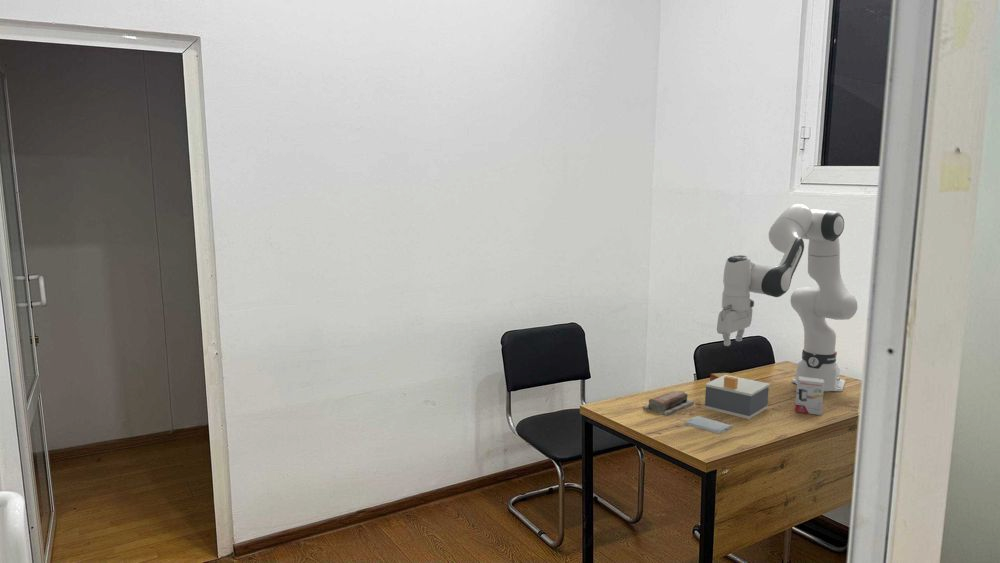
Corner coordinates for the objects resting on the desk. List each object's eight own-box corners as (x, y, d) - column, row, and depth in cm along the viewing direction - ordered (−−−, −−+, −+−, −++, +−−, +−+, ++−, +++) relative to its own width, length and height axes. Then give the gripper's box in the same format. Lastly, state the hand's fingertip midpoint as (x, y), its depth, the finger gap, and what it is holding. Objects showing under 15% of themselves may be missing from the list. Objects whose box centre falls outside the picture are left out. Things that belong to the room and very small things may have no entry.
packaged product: (668, 403, 231) (643, 397, 238) (667, 417, 231) (642, 410, 238) (694, 392, 243) (670, 386, 250) (694, 405, 244) (669, 399, 251)
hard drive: (685, 421, 223) (720, 430, 215) (697, 415, 229) (732, 424, 220) (684, 426, 224) (719, 435, 215) (697, 420, 229) (732, 429, 221)
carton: (728, 382, 273) (729, 372, 272) (750, 394, 258) (751, 383, 257) (709, 383, 271) (710, 373, 271) (731, 395, 256) (731, 384, 255)
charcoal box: (724, 398, 251) (725, 377, 250) (767, 408, 241) (768, 386, 240) (704, 408, 240) (706, 386, 239) (749, 419, 229) (750, 396, 228)
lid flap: (725, 376, 251) (725, 365, 250) (770, 385, 240) (770, 374, 239) (704, 386, 239) (705, 374, 238) (751, 396, 227) (752, 384, 227)
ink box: (794, 412, 237) (797, 379, 235) (794, 408, 241) (797, 375, 240) (822, 415, 233) (824, 382, 232) (821, 411, 238) (824, 378, 236)
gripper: (731, 308, 221) (729, 349, 223) (756, 301, 236) (753, 340, 238) (713, 306, 225) (710, 346, 227) (738, 299, 240) (736, 337, 242)
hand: (733, 343), depth 232 cm, fingers open, 8 cm apart
